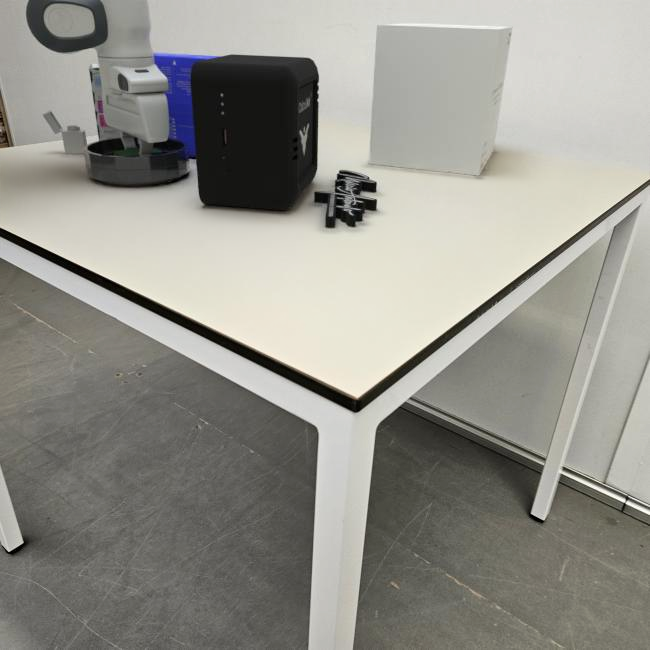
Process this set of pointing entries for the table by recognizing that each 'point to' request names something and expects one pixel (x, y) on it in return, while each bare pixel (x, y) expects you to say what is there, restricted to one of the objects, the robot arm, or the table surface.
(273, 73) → the black computer case
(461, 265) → the table surface
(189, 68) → the blue box
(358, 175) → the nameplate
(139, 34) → the robot arm
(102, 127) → the candy bar box
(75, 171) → the table surface
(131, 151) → the sponge
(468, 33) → the cube
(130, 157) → the bowl
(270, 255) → the table surface
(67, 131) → the lighter
